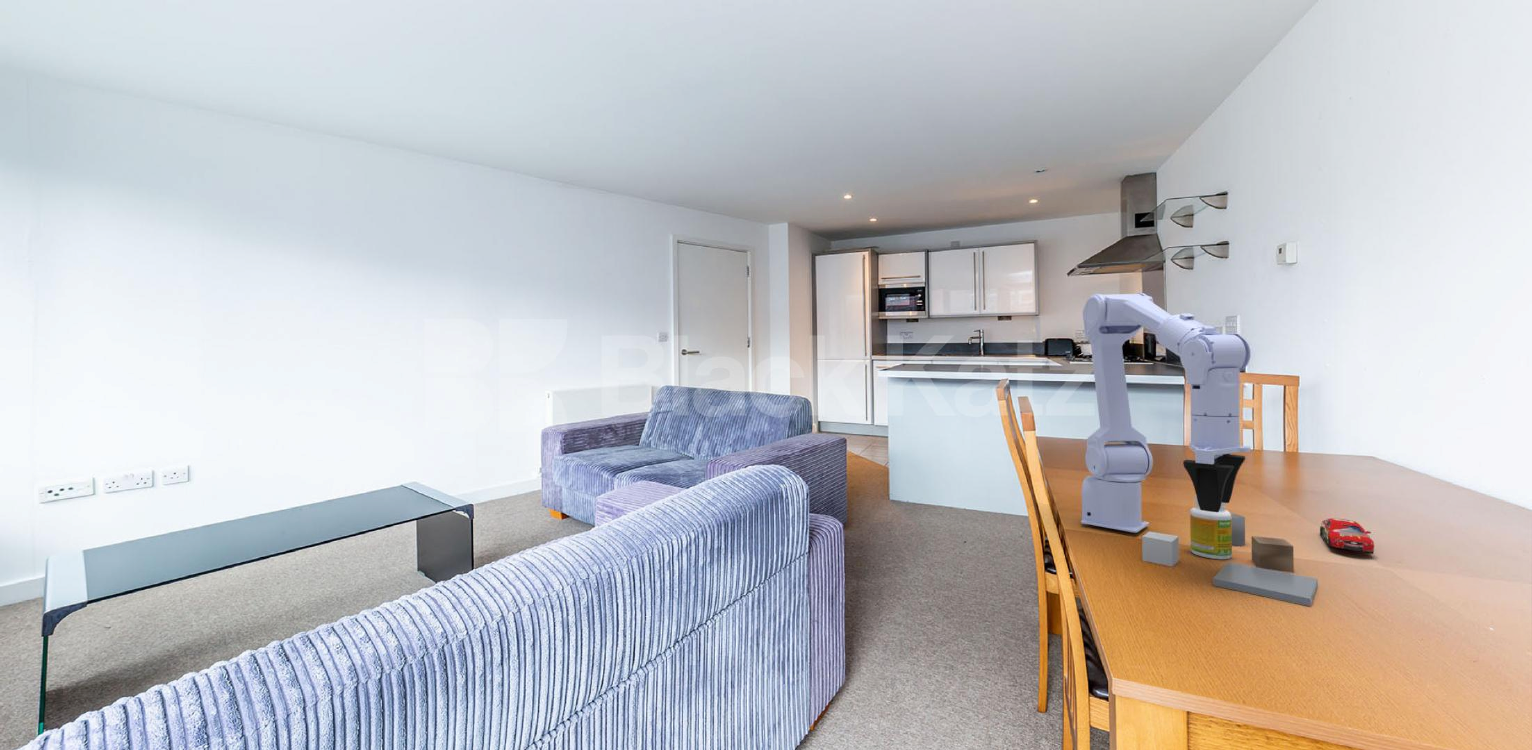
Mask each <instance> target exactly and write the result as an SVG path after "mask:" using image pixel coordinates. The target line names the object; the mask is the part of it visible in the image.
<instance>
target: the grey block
mask: <svg viewBox="0 0 1532 750" xmlns="http://www.w3.org/2000/svg"><path fill="white" fill-rule="evenodd" d="M1141 537H1142V540H1141V541H1142V542H1141V543H1142V546H1141V548H1142V549H1141V551H1142V554H1141V555H1142V557H1141V558H1142V560H1141V561H1142V562H1147V563H1153V564H1157V565H1162V566H1168V567H1174V566H1175V565H1176V564H1177V563H1178V562H1179V561H1180V547H1179V546H1180V544H1179V543H1180V540H1179V537H1180V536H1178V535H1172V534H1168V533H1167V534H1166V533H1163V532H1162V533H1161V532H1157V531H1156V532H1155V531H1148V532H1147V533H1145V534H1144V535H1142V536H1141Z"/></svg>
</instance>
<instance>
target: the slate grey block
mask: <svg viewBox="0 0 1532 750" xmlns="http://www.w3.org/2000/svg"><path fill="white" fill-rule="evenodd" d="M1230 514H1231V518H1232V547H1244V546H1246V517H1245V516H1243V515H1240V514H1235V513H1230Z"/></svg>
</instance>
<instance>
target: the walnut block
mask: <svg viewBox="0 0 1532 750" xmlns="http://www.w3.org/2000/svg"><path fill="white" fill-rule="evenodd" d="M1251 561H1252V563H1254V564H1255V566H1257V567H1258V568H1263V569H1269V570H1274V571H1279V572H1285V573H1294V572H1295V571H1294V570H1295V569H1294V565H1295V562H1294V546H1293V545H1292V544H1291V543H1290V542H1289V541H1287V540H1286V539H1285V538H1276V537H1275V538H1274V537H1265V536H1255V535H1251Z"/></svg>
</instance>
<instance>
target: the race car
mask: <svg viewBox="0 0 1532 750" xmlns="http://www.w3.org/2000/svg"><path fill="white" fill-rule="evenodd" d="M1371 533H1372V532H1371V531H1370V530H1369V531H1368V530H1367V531H1366V530H1365V529H1364V527H1362V525H1361V524H1360V523H1359V522H1357V521H1354V520H1350V519H1345V518H1344V519H1343V518H1327V519H1325V520H1322V522H1321V523H1320V527H1319V534H1320V538H1321V539H1323V540H1324V542H1325V543H1327V544H1328V548H1329V549H1334V550H1336V549H1337V548H1339V549H1344V550H1351V551H1360V552H1365V554H1370V555H1372V554H1374V552H1375V541H1374V540H1373V539H1372V538H1371V537H1370V535H1368V534H1371Z"/></svg>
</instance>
